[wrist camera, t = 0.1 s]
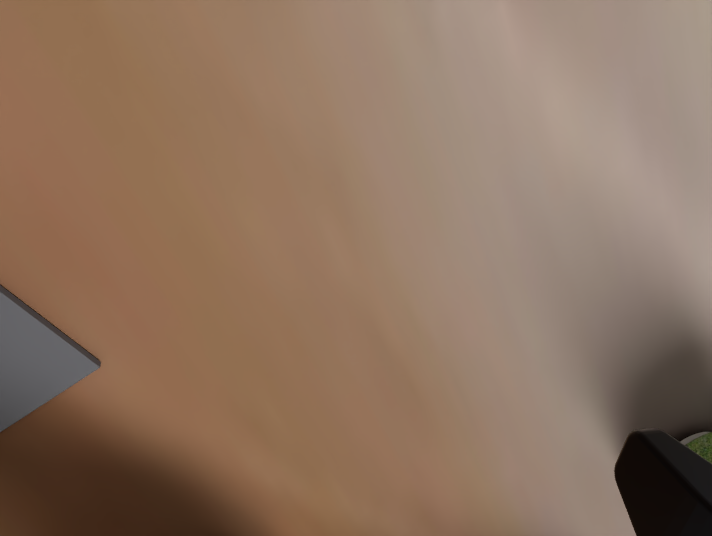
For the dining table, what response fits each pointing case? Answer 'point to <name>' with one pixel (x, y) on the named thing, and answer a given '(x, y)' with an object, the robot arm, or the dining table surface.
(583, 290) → the dining table surface
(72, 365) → the charcoal mat
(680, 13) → the dining table surface
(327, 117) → the dining table surface
